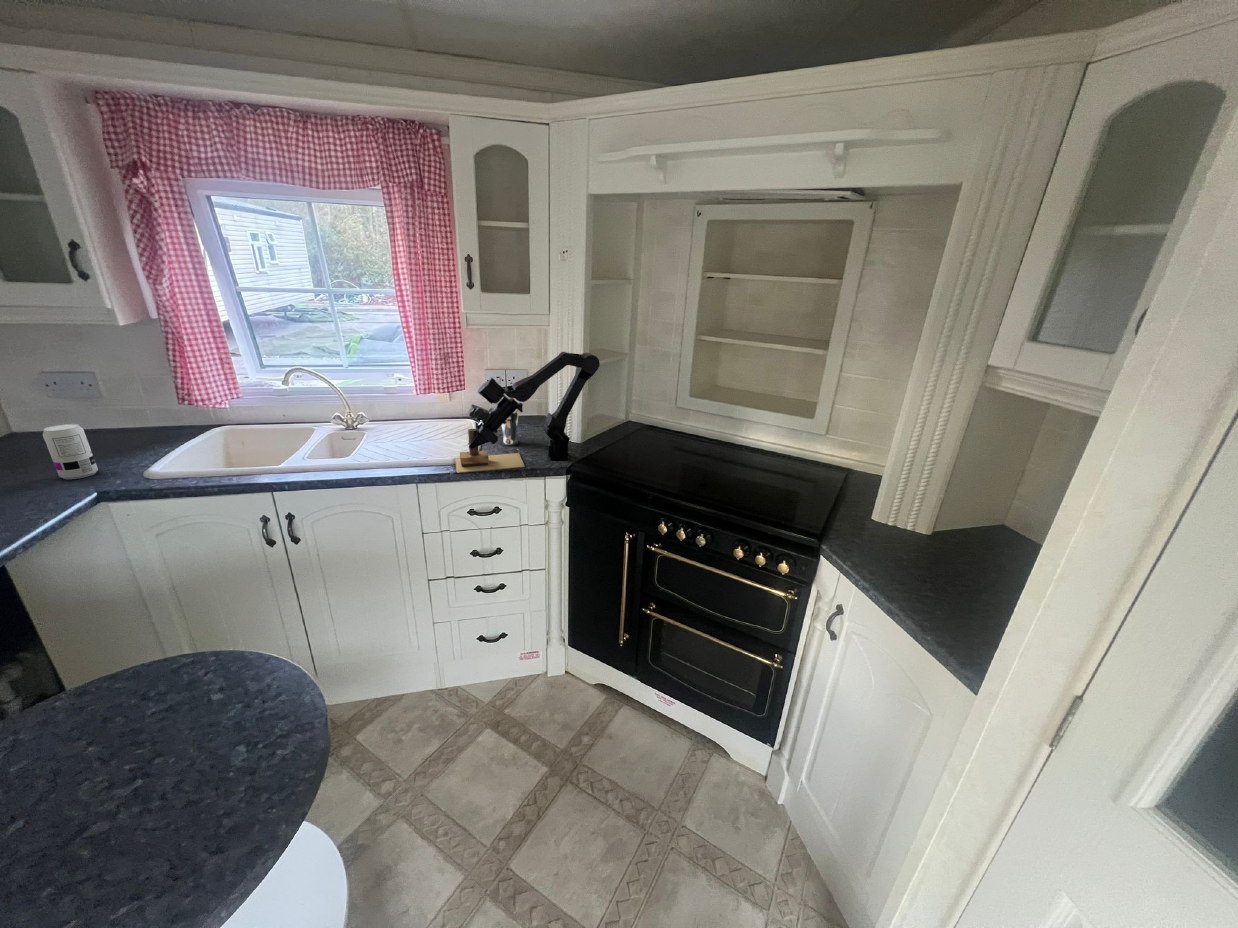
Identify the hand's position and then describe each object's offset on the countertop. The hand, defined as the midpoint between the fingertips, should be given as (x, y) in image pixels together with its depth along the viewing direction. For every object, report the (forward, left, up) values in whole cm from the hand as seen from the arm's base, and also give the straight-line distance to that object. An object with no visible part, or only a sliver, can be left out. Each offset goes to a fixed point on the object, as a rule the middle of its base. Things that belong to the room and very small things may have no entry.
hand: (469, 446), depth 165 cm
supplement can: (+114, +1, -7) cm, 114 cm away
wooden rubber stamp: (-1, 0, -6) cm, 6 cm away
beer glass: (-12, -22, -7) cm, 26 cm away
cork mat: (-6, -1, -6) cm, 9 cm away
